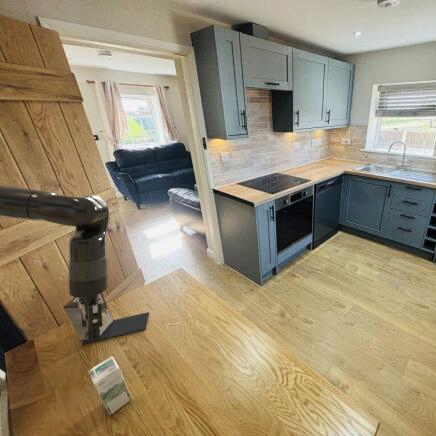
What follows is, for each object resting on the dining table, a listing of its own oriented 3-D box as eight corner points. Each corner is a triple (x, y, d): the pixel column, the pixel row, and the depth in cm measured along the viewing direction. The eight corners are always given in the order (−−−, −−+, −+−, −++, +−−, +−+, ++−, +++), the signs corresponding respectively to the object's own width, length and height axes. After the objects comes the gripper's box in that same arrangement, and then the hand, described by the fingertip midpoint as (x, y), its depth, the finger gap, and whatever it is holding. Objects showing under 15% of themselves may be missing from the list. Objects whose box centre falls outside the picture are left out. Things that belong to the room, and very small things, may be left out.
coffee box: (98, 320, 95) (84, 288, 89) (113, 320, 95) (101, 288, 88) (78, 340, 87) (62, 306, 80) (96, 340, 87) (81, 307, 80)
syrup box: (125, 386, 73) (111, 354, 67) (132, 400, 69) (119, 367, 64) (103, 402, 69) (86, 369, 63) (109, 417, 65) (93, 384, 60)
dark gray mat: (82, 345, 85) (81, 344, 85) (91, 326, 93) (91, 325, 93) (145, 329, 92) (145, 328, 92) (149, 313, 100) (148, 312, 99)
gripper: (64, 269, 62) (67, 326, 64) (73, 287, 53) (76, 353, 55) (100, 263, 68) (101, 316, 70) (114, 279, 59) (115, 339, 61)
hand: (90, 332), depth 63 cm, fingers open, 8 cm apart
